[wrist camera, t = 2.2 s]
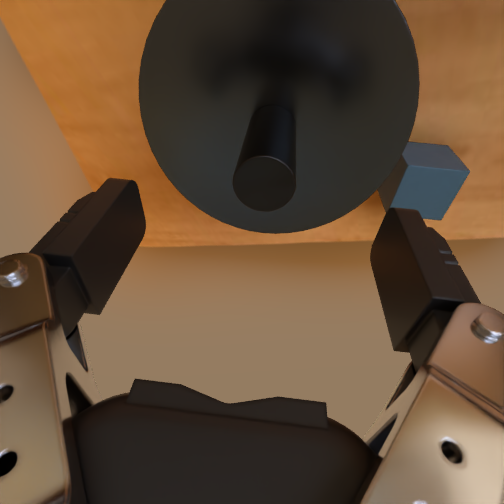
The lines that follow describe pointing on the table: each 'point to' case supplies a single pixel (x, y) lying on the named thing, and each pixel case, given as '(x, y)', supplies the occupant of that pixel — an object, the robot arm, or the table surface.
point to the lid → (278, 105)
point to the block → (424, 180)
